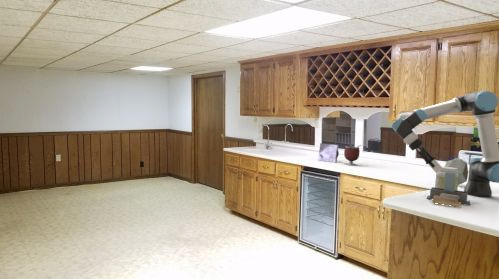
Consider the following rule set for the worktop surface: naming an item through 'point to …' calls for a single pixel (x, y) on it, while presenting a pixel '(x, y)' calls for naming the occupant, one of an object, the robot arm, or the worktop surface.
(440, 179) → the supplement tub
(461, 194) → the slot rack
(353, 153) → the mate gourd
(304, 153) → the worktop surface
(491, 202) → the worktop surface
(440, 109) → the robot arm
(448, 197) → the offcut stack
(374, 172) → the worktop surface
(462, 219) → the worktop surface
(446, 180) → the slate board
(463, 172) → the rock
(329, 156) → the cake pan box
